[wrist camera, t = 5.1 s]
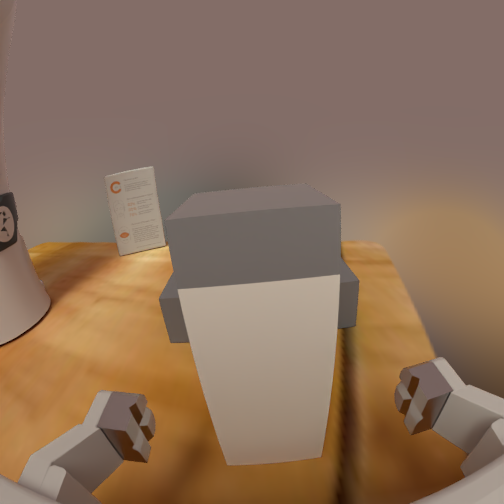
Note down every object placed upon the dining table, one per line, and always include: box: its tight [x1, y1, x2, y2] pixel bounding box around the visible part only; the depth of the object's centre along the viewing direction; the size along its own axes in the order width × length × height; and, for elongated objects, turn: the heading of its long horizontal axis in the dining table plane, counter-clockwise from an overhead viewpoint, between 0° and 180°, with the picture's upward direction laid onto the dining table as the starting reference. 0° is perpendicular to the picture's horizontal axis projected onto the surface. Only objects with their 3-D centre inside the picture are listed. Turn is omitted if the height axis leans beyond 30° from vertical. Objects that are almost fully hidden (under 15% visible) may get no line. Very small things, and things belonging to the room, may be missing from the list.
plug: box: [164, 184, 341, 465], centre depth 12 cm, size 5×5×12 cm
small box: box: [104, 166, 166, 256], centre depth 46 cm, size 8×6×13 cm
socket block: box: [159, 258, 359, 343], centre depth 28 cm, size 15×15×4 cm
